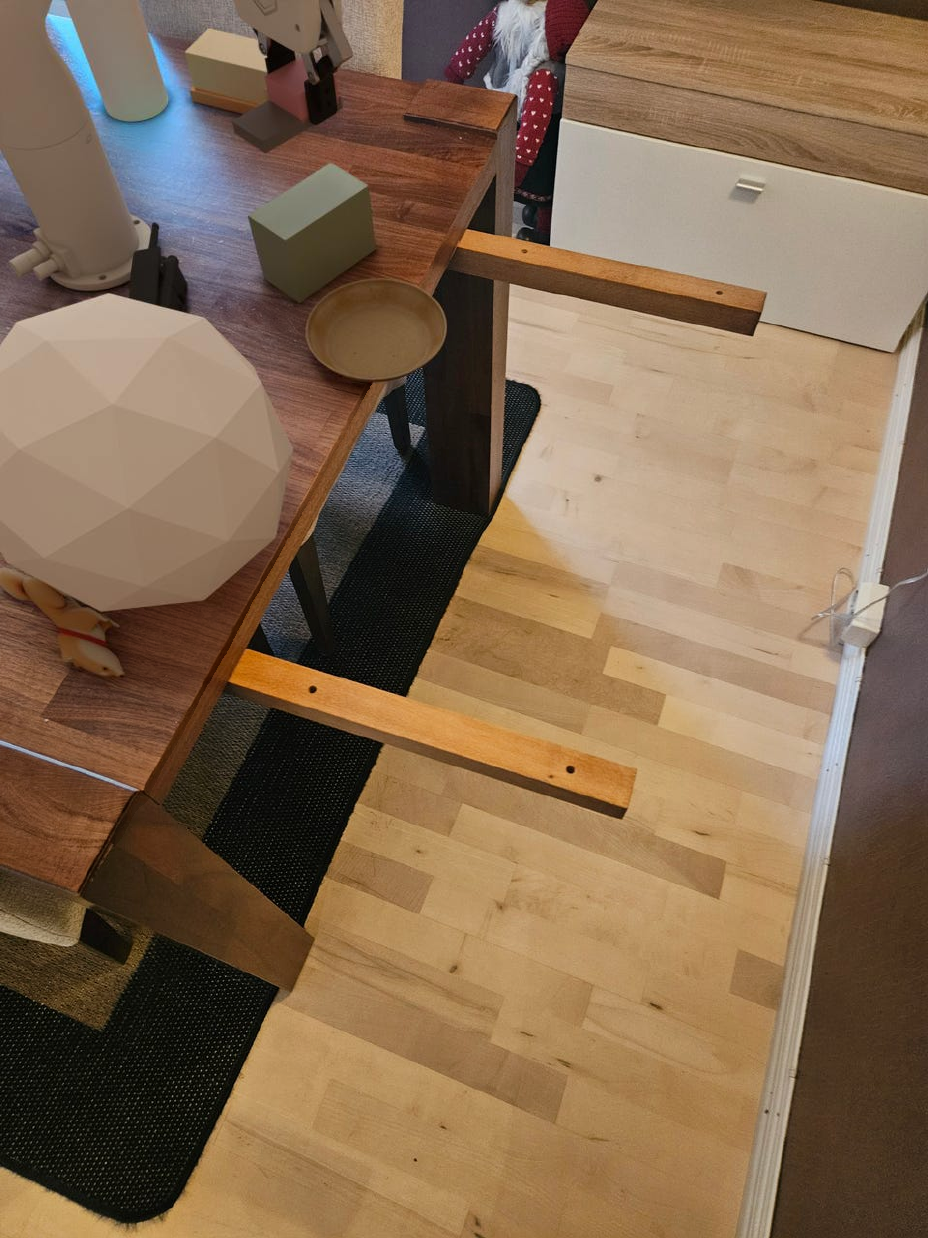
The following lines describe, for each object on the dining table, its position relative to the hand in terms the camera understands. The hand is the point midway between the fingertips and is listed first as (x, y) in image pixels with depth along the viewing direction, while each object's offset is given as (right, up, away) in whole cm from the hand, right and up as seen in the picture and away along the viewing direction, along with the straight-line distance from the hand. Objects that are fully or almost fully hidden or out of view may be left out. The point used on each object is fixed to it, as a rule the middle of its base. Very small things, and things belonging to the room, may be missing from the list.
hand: (304, 104), depth 82 cm
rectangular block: (-1, -9, +14) cm, 17 cm away
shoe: (-12, +19, +29) cm, 37 cm away
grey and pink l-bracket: (-1, -2, 0) cm, 2 cm away
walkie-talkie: (-17, -22, +5) cm, 28 cm away
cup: (-28, +18, +29) cm, 44 cm away
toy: (-18, -48, -9) cm, 52 cm away
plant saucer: (+6, -21, +8) cm, 23 cm away
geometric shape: (-14, -27, -8) cm, 31 cm away
